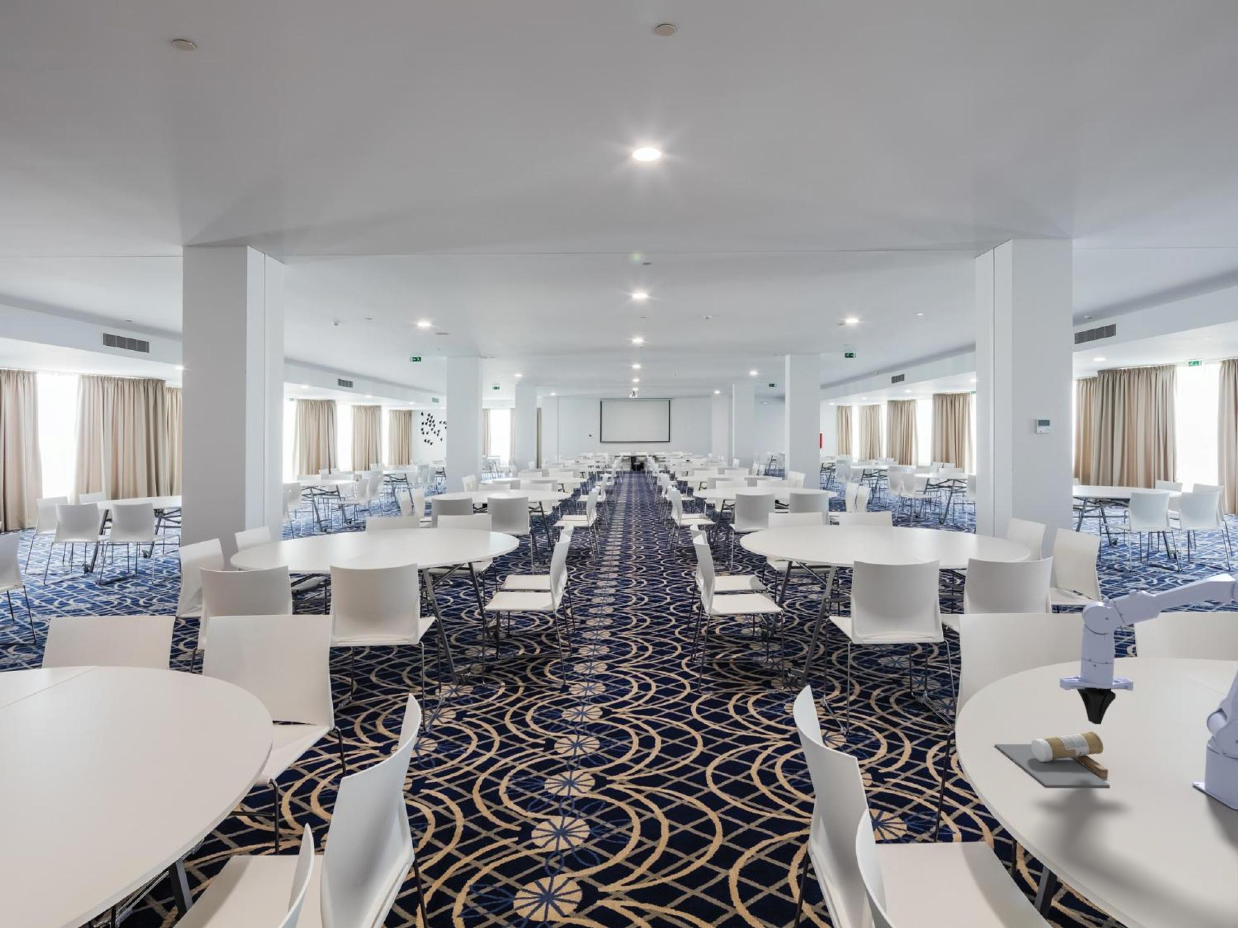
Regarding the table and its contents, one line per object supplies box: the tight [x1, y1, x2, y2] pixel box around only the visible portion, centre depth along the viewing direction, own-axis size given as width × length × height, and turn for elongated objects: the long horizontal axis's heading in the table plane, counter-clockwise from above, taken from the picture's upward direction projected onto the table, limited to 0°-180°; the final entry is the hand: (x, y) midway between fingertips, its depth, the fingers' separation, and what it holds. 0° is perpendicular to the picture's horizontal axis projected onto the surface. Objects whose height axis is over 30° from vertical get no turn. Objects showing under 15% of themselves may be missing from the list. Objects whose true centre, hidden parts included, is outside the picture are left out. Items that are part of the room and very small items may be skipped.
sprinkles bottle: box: [1031, 731, 1104, 762], centre depth 148 cm, size 5×5×14 cm
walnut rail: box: [1072, 755, 1109, 778], centre depth 146 cm, size 10×2×2 cm, turn 1°
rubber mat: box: [994, 743, 1111, 788], centre depth 146 cm, size 18×13×1 cm
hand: (1094, 722), depth 146 cm, fingers closed
